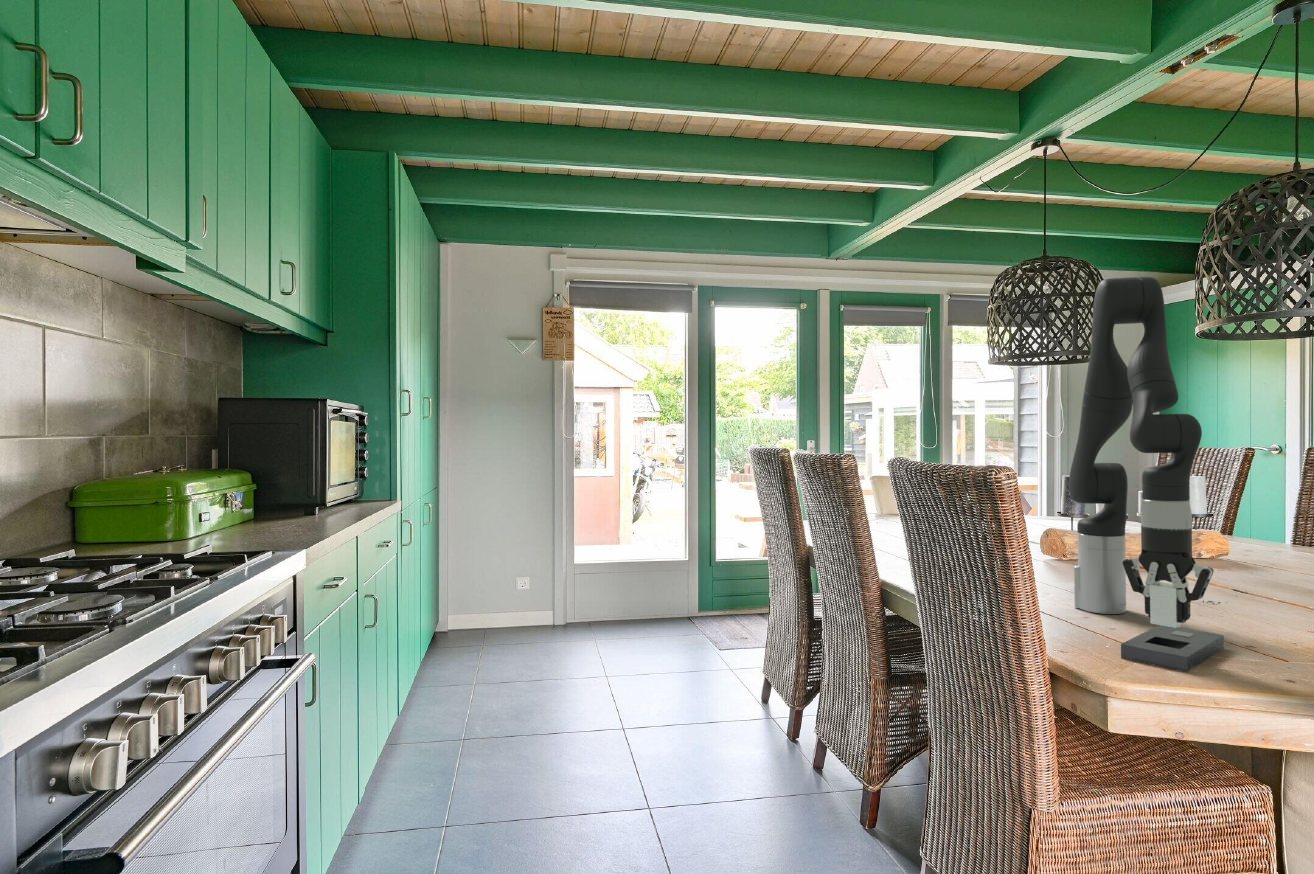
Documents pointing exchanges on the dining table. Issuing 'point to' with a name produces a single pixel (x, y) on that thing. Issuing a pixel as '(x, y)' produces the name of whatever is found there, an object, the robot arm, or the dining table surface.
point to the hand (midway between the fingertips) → (1167, 619)
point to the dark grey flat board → (1172, 647)
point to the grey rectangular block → (1164, 605)
